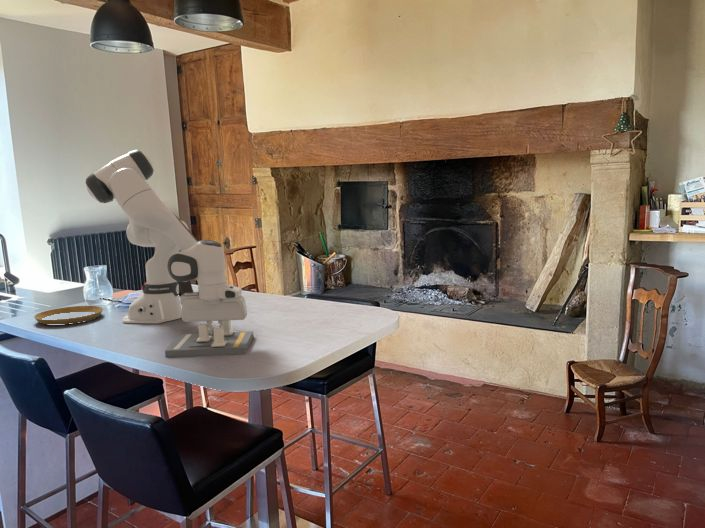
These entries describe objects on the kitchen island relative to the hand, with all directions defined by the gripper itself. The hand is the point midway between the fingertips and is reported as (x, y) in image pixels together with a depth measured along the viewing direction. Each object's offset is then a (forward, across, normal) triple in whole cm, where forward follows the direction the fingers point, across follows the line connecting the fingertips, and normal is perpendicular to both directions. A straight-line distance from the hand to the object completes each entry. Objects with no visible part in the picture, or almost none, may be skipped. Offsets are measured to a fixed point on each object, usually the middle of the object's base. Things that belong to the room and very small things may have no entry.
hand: (216, 333), depth 173 cm
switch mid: (+2, -4, 0) cm, 4 cm away
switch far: (+2, +2, +6) cm, 6 cm away
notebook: (+5, -56, +82) cm, 99 cm away
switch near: (+2, +2, -6) cm, 7 cm away
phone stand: (+5, -33, +86) cm, 92 cm away
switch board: (+4, -2, 0) cm, 4 cm away
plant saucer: (+5, -66, +44) cm, 80 cm away
